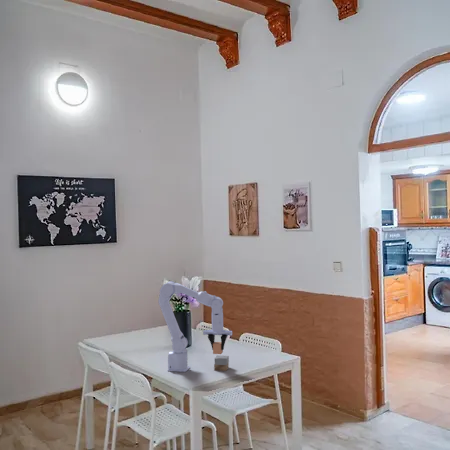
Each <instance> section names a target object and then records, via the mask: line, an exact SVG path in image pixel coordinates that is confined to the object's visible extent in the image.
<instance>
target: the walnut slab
mask: <svg viewBox="0 0 450 450" xmlns="http://www.w3.org/2000/svg"><path fill="white" fill-rule="evenodd" d="M229 362H230V361H229ZM229 362H228V364H227V365H215V363H214V367H213V369H214V371H217V370H218V371H219V372H220V371H221V372H222V371H223V372H224V371H225V372H227V370H228V369H229V367H230V365H229Z"/></svg>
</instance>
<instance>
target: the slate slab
mask: <svg viewBox="0 0 450 450" xmlns="http://www.w3.org/2000/svg"><path fill="white" fill-rule="evenodd" d="M229 357H230V356H229V355H219V354H216V356H215V357H214V364H215V365H227V364H228V362H230V360H229Z"/></svg>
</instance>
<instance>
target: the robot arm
mask: <svg viewBox="0 0 450 450" xmlns="http://www.w3.org/2000/svg"><path fill="white" fill-rule="evenodd" d="M174 294H175V295H176V294H182V295H186V296H188V297H192V298H194V299H196V301H197V303H200V304H202V305H204V306H206V307H209V308H211V329H205V330H202V335H203V336H205V335H206V336H207V335H208V336H207V338H208V341H209V342H210V345H211V350H212V351H213V343H214V342H215V338H216V336H220V342H221V350H224V348H225V345H226V341H227V338H228V336H233V330H225V329H224V309H223V305H224V301H223V299H222V298H221V297H220V296H216V295H215V294H214V295H213V294H209V293H208V292H207V291H206V290H204V291H202V290H201V291H197V290H194V289H192V288H190V287H188V286H185V285H183V284H182V283H178V282H175V281H172V280H171V281H170V280H169V281H168V282H166V283H163V284H162V286H161V287H160V289H159V295H158V305H159V307H160V310H161V313H162V316H163V318H164V321H165V323H166V325H167V328H168V331H169V333H170V339H171V343H172V345H171V348H172V351H171V350H170V351H169V352H168V356H167V371H168V372H181V373H182V372H183V373H186V372H187V371H188V370H189V369H190V368H191V366H188V365H189V364H188V359H189V358H188V349H187V347H188V344H189V341H188V338H187V337H185V336H184V333H183V332H182V331H181V329H180V326H179V323H178V321H177V319H176V316H175V313H174V311H173V308H172V305H171V304H170V300H171V298H172V297H173V295H174Z"/></svg>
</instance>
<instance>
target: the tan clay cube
mask: <svg viewBox="0 0 450 450" xmlns="http://www.w3.org/2000/svg"><path fill="white" fill-rule="evenodd" d="M223 350H224V349H223ZM223 350H221V341H214V343H213V350H212V354H213V355H221V354H222V353H223V352H224V351H223Z"/></svg>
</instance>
